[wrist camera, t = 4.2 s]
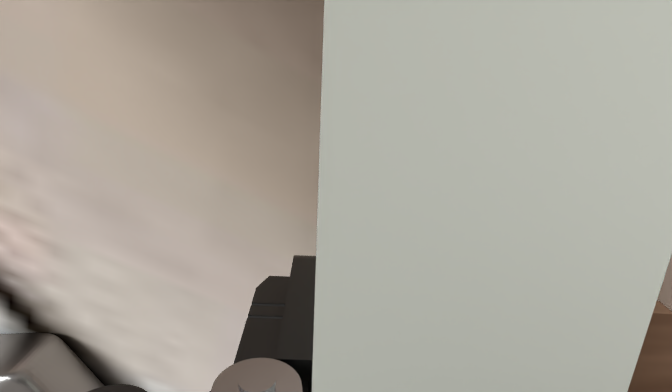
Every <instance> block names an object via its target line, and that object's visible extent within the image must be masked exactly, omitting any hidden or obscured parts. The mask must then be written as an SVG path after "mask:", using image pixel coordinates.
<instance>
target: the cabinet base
mask: <svg viewBox="0 0 672 392" xmlns="http://www.w3.org/2000/svg"><path fill="white" fill-rule="evenodd" d="M627 392H672V311H670V310H669V309H668V308H667V307H666V306H664V305H663V304H662V303H661V302H659V301H656V305H655V308H654V311H653V314H652V317H651V320H650V323H649V326H648V329H647V332H646V336H645V339H644V342H643V345H642V348H641V351H640V354H639V357H638V360H637V363H636V366H635V370H634V373H633V376H632V379H631V382H630V385H629V388H628V391H627Z"/></svg>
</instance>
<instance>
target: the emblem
mask: <svg viewBox="0 0 672 392" xmlns="http://www.w3.org/2000/svg"><path fill="white" fill-rule="evenodd" d="M103 386H104V385H103V384H102V383H101V382H100V380H99V379H98V378H97V377H96V376H95V375H94V374H93V373H92V372H91V371H90V369H89V368H88V367H87V366H86V365H85V364H84V363H83V362H82V361H81V360H80V358H79V357H78V356H77V355H76V354H75V353H74V352H73V351H72V350H71V349H70V348H69V347H68V345H67V344H66V343H65V342H64V341H62V340H61V339H60V338H59V337H58V336H56V335H53V334H49V333H16V334H0V392H88V391H90V390H93V389H96V388H99V387H103Z"/></svg>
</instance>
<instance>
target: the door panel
mask: <svg viewBox="0 0 672 392" xmlns="http://www.w3.org/2000/svg"><path fill="white" fill-rule="evenodd" d="M671 255H672V0H324V29H323V60H322V90H321V121H320V151H319V182H318V212H317V243H316V273H315V304H314V334H313V365H312V392H627V391H628V388H629V385H630V382H631V379H632V376H633V373H634V370H635V366H636V363H637V360H638V357H639V354H640V351H641V348H642V345H643V342H644V339H645V336H646V332H647V329H648V326H649V323H650V320H651V317H652V314H653V311H654V308H655V305H656V301H657V298H658V295H659V292H660V289H661V286H662V283H663V280H664V277H665V274H666V270H667V267H668V264H669V261H670V258H671Z"/></svg>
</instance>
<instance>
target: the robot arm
mask: <svg viewBox="0 0 672 392" xmlns="http://www.w3.org/2000/svg"><path fill="white" fill-rule="evenodd" d="M315 273H316V256H299V255H294V258H293V263H292V269H291V274H290V277H283V276H269V277H268V278H267V279H266V280H264V281H263V282H262V283H261V284H260V285H259V286H258V287H257V288H256V291H255V294H254V297H253V301H252V306H251V307H250V311H249V314H248V318H247V321H246V324H245V327H244V331H243V334H242V337H241V341H240V344H239V348H238V351H237V354H236V358H235V361H234V364H233V365H231V366H229V367H228V368H226V369H225V370H224V371H223V372H221V373H220V374H219V376H218V377H217V378H216V379H215V381H214V383H213V386H212V389H211V391H210V392H312V365H313V334H314V304H315ZM88 392H147V391H145V390H143V389H142V388H139V387H137V386H133V385H126V384H116V385H108V386H103V387H99V388H96V389H93V390H90V391H88Z"/></svg>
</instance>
